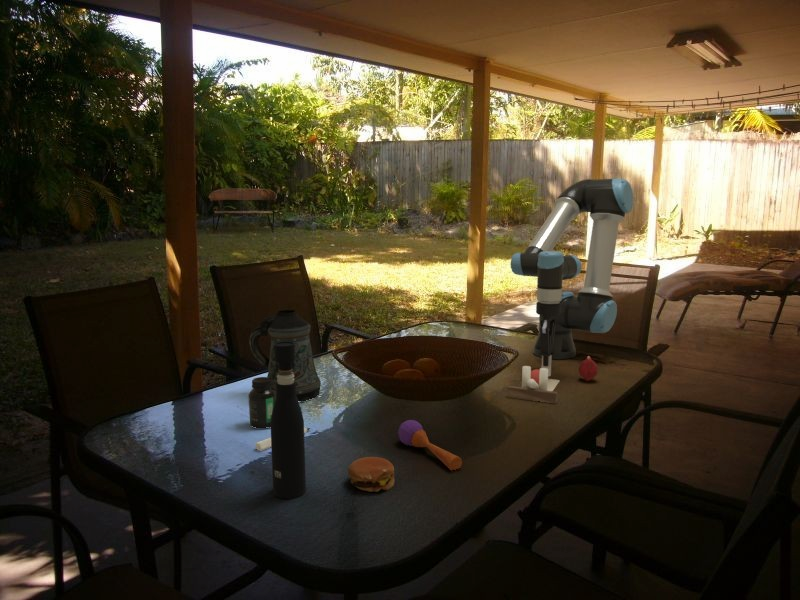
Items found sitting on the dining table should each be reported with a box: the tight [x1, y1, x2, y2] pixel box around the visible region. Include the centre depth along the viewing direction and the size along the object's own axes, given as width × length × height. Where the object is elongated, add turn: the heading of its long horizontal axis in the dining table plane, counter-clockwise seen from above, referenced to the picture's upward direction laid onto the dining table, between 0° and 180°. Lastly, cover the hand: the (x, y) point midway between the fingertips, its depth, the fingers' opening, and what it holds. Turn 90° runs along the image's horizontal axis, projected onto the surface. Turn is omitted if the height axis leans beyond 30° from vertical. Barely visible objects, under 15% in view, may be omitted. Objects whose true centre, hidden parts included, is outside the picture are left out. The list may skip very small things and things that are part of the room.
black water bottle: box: [270, 342, 307, 500], centre depth 118 cm, size 6×6×30 cm
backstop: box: [506, 385, 558, 405], centre depth 174 cm, size 2×14×3 cm, turn 65°
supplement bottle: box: [248, 376, 276, 428], centre depth 154 cm, size 7×7×12 cm
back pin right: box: [521, 365, 532, 388], centre depth 177 cm, size 2×2×8 cm
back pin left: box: [539, 367, 549, 391], centre depth 175 cm, size 2×2×8 cm
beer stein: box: [248, 309, 322, 402], centre depth 176 cm, size 16×19×25 cm
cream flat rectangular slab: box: [530, 378, 560, 392], centre depth 188 cm, size 13×8×1 cm, turn 155°
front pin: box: [527, 379, 539, 390], centre depth 176 cm, size 2×2×8 cm
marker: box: [254, 427, 311, 452], centre depth 145 cm, size 3×2×16 cm
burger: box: [347, 456, 395, 493], centre depth 123 cm, size 10×9×5 cm
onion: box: [578, 355, 599, 382], centre depth 191 cm, size 6×6×8 cm
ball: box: [531, 368, 540, 385], centre depth 183 cm, size 6×6×6 cm
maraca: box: [397, 419, 463, 472], centre depth 137 cm, size 6×6×20 cm
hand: (546, 375), depth 191 cm, fingers closed
